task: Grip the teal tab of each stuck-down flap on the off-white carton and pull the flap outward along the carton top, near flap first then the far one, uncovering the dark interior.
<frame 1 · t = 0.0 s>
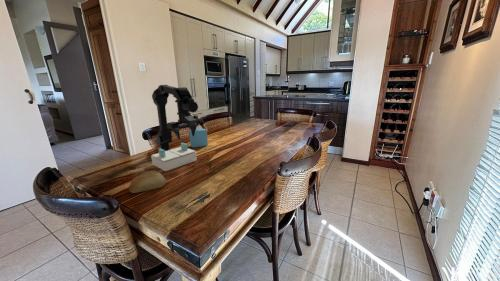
hand: (186, 137, 120), 15 cm above the table, fingers open, 9 cm apart
far flap: (181, 147, 124), point 8 cm above the table, slide at 0.0 cm
bread roll: (148, 189, 94), on the table
carton: (175, 162, 123), on the table
near flap: (165, 152, 117), point 8 cm above the table, slide at 0.0 cm
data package: (199, 146, 153), on the table
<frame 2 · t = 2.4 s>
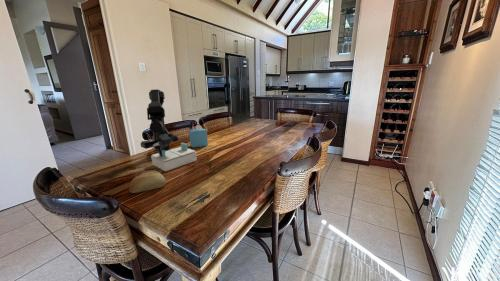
hand: (162, 155, 116), 6 cm above the table, fingers closed on near flap
near flap: (165, 152, 117), point 8 cm above the table, slide at 0.0 cm, touching gripper
everything else where it was.
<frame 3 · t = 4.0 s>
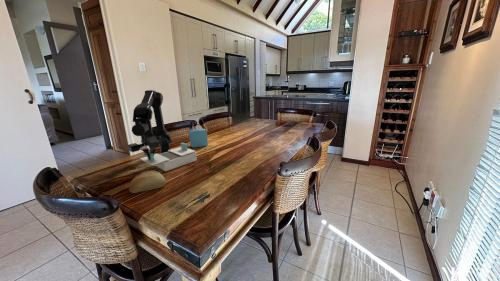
hand: (151, 159, 111), 6 cm above the table, fingers closed on near flap
near flap: (154, 155, 112), point 8 cm above the table, slide at 6.4 cm, touching gripper
everything else where it was.
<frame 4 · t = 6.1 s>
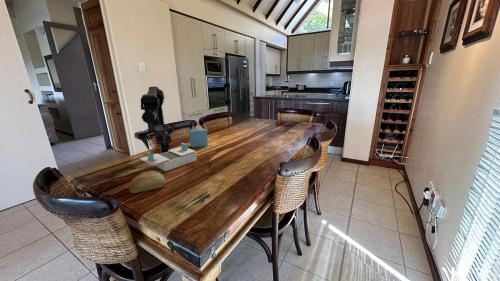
hand: (157, 147, 113), 12 cm above the table, fingers open, 9 cm apart
near flap: (154, 155, 112), point 8 cm above the table, slide at 6.4 cm
everything else where it was.
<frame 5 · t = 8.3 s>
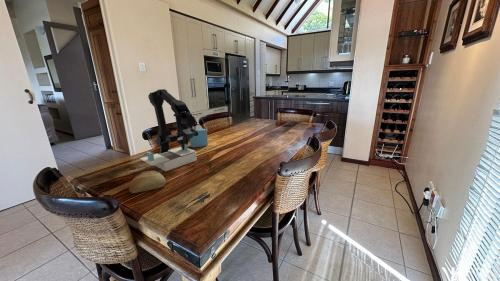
hand: (184, 149, 126), 6 cm above the table, fingers closed on far flap
far flap: (181, 147, 124), point 8 cm above the table, slide at 0.0 cm, touching gripper
everything else where it was.
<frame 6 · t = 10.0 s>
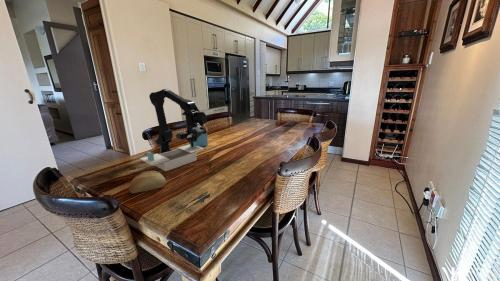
hand: (193, 146, 131), 6 cm above the table, fingers closed on far flap
far flap: (190, 145, 129), point 8 cm above the table, slide at 6.3 cm, touching gripper
everything else where it was.
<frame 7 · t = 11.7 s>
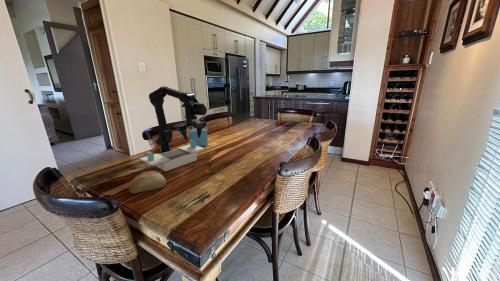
hand: (193, 139, 129), 11 cm above the table, fingers open, 9 cm apart
far flap: (190, 145, 129), point 8 cm above the table, slide at 6.4 cm
everything else where it was.
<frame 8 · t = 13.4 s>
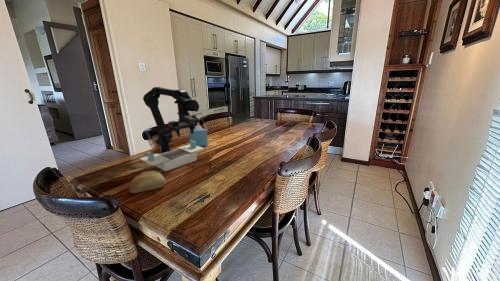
hand: (185, 135, 131), 13 cm above the table, fingers open, 9 cm apart
nothing on the table moved.
at the end: near flap slide at 6.4 cm; far flap slide at 6.4 cm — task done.
